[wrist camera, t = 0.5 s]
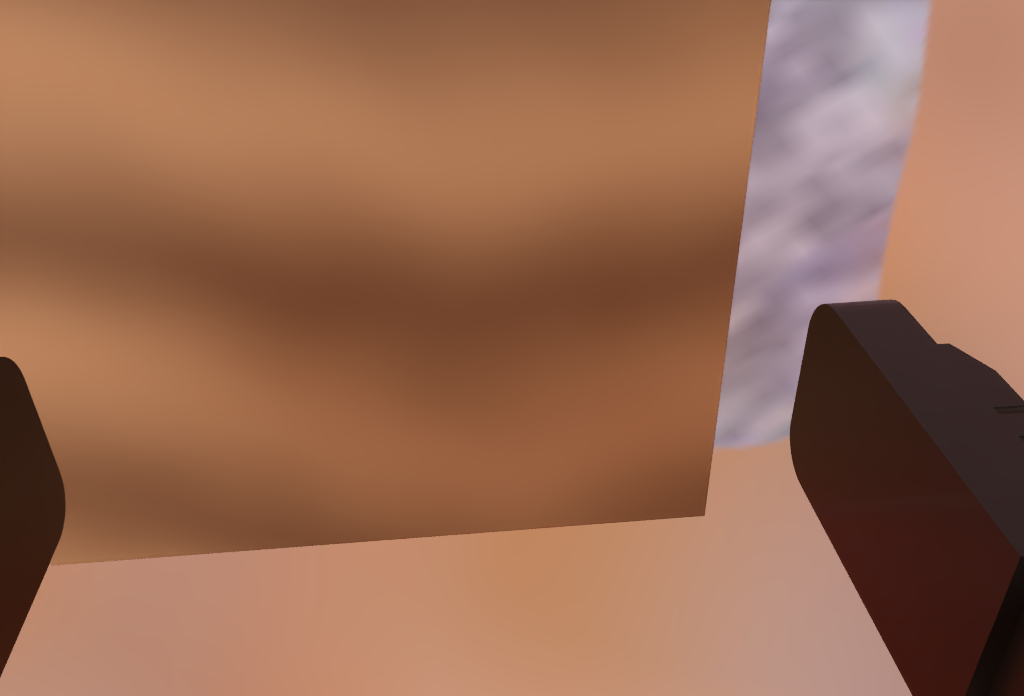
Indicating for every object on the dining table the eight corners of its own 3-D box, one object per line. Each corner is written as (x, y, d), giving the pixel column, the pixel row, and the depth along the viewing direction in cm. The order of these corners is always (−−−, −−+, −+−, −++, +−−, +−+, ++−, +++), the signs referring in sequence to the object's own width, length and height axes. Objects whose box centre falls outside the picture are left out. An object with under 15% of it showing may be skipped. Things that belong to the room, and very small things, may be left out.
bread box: (91, -181, 27) (-216, -138, 14) (632, -190, 29) (833, -159, 15) (188, 261, 35) (51, 565, 22) (611, 239, 36) (732, 513, 23)
